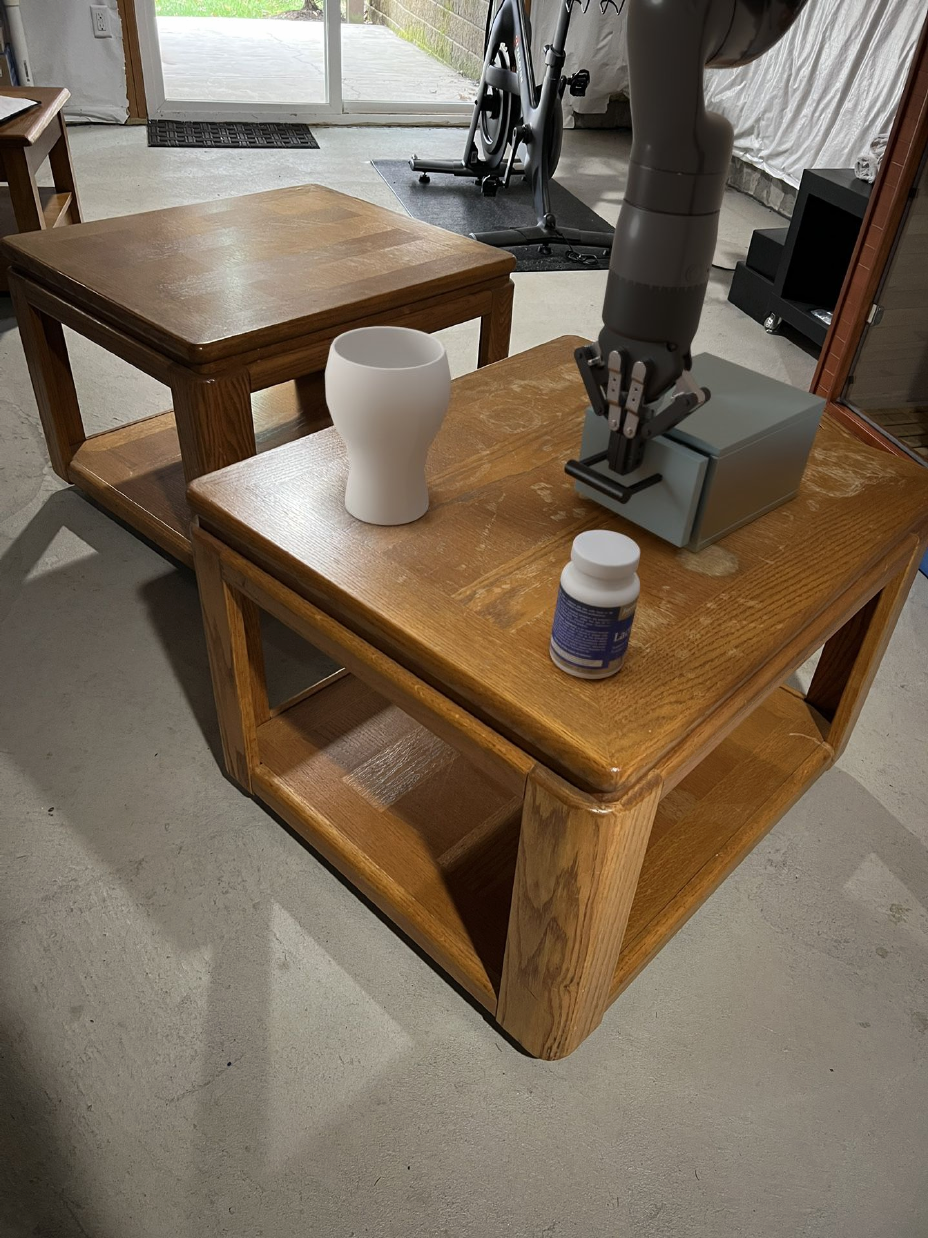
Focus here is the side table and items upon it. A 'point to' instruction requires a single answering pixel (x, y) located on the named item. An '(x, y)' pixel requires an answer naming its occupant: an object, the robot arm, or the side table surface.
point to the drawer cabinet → (745, 444)
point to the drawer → (643, 481)
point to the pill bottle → (596, 605)
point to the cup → (387, 417)
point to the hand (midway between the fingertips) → (621, 470)
